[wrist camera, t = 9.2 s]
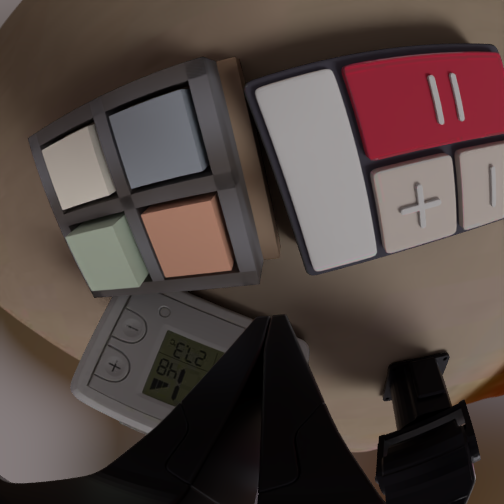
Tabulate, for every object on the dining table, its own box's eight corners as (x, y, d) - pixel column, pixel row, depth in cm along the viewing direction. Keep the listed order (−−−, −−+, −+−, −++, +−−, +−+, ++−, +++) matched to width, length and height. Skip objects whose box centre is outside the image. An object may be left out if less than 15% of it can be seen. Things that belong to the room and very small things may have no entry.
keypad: (280, 246, 20) (277, 282, 16) (109, 268, 23) (85, 298, 19) (239, 59, 14) (224, 50, 11) (56, 130, 17) (19, 143, 14)
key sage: (153, 266, 18) (139, 287, 17) (107, 272, 19) (91, 290, 17) (130, 209, 16) (112, 225, 15) (84, 221, 17) (65, 237, 15)
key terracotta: (237, 249, 18) (231, 270, 16) (177, 257, 19) (165, 277, 17) (220, 186, 16) (210, 200, 14) (156, 199, 17) (140, 214, 15)
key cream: (128, 182, 16) (109, 195, 15) (82, 196, 17) (62, 210, 15) (109, 120, 15) (87, 126, 13) (63, 141, 15) (41, 150, 13)
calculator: (522, 220, 13) (308, 286, 16) (488, 196, 17) (303, 248, 20) (505, 43, 8) (237, 83, 11) (465, 46, 12) (247, 86, 15)
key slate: (213, 160, 15) (202, 171, 13) (149, 176, 16) (131, 188, 14) (195, 88, 13) (180, 89, 11) (129, 111, 14) (108, 116, 12)
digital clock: (320, 340, 24) (323, 458, 15) (259, 385, 28) (244, 481, 19) (147, 234, 21) (64, 339, 12) (113, 304, 25) (56, 395, 16)
